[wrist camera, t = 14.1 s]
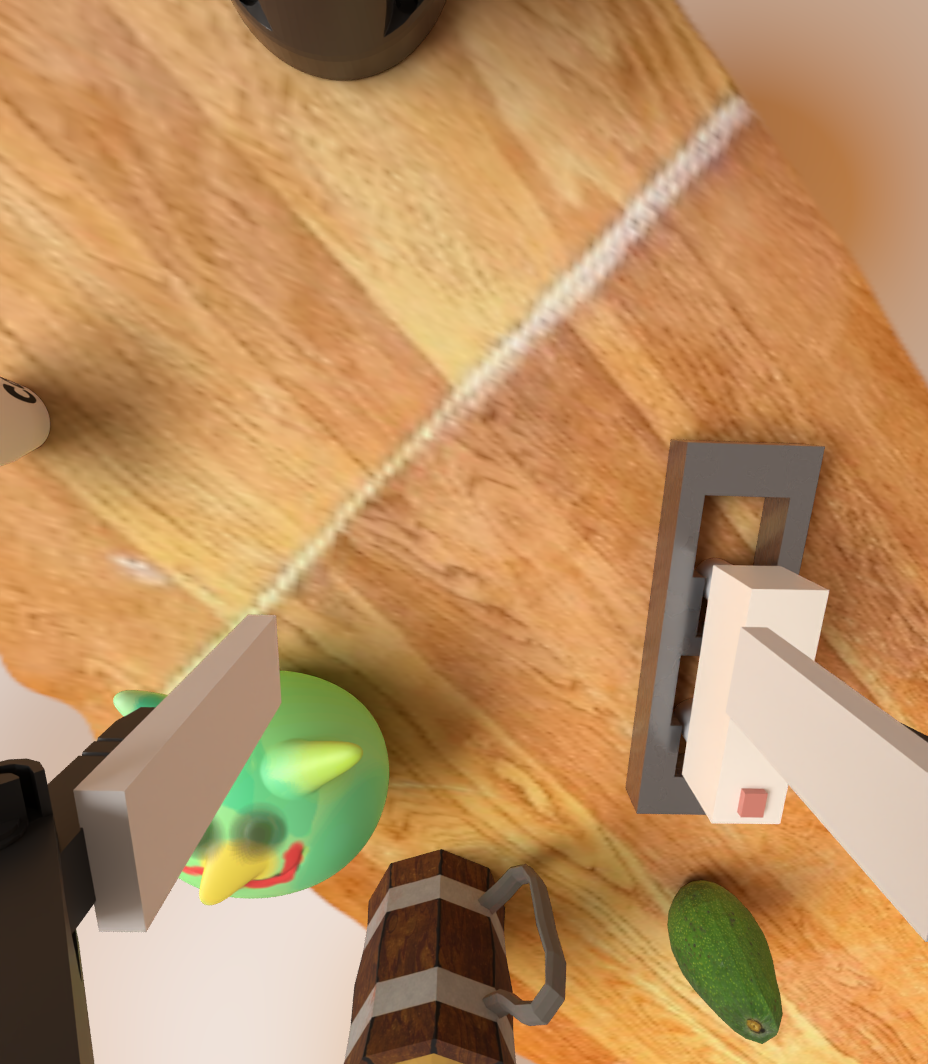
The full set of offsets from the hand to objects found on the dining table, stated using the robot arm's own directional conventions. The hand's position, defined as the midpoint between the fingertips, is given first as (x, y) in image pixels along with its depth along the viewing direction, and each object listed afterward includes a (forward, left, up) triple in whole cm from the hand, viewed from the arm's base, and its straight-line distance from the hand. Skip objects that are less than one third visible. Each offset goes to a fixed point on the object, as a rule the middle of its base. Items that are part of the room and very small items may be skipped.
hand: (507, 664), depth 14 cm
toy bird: (+20, -15, -27) cm, 37 cm away
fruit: (+39, +23, -27) cm, 53 cm away
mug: (+39, 0, -27) cm, 47 cm away
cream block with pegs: (+13, +20, -27) cm, 36 cm away
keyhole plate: (+11, +20, -27) cm, 35 cm away
